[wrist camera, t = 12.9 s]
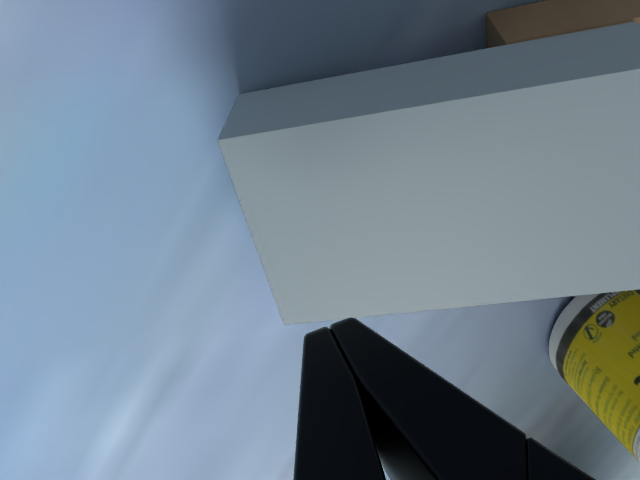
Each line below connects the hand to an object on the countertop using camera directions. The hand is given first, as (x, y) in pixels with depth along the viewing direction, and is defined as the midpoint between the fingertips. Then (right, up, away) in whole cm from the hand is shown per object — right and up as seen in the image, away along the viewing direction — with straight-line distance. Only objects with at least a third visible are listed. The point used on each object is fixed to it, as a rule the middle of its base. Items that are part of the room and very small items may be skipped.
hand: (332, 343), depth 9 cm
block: (-2, +2, +4) cm, 5 cm away
